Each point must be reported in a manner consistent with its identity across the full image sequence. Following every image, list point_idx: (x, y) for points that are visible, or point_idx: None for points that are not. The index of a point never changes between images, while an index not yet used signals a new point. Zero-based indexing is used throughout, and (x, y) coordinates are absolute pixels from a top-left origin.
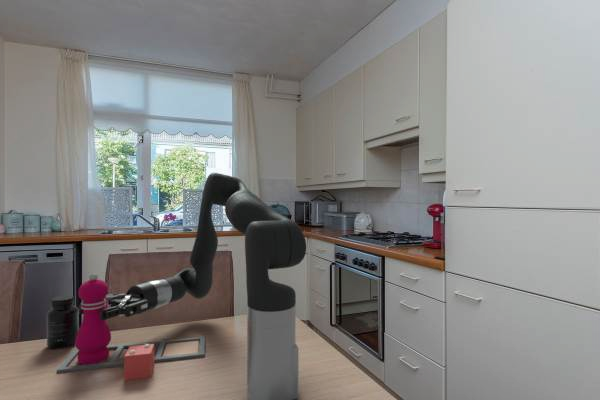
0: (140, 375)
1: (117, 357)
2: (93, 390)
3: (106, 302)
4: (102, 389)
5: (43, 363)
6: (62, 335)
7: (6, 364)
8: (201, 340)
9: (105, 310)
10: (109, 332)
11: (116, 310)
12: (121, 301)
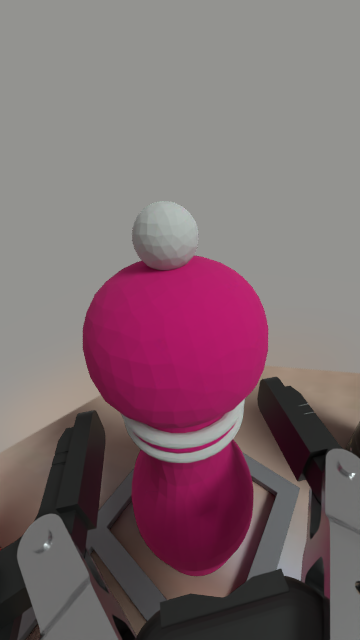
0: None
1: (119, 583)
2: (36, 444)
3: (319, 545)
4: (18, 458)
5: (254, 411)
6: (356, 444)
7: (293, 368)
8: None
9: (75, 427)
10: (152, 536)
11: (46, 497)
12: (84, 587)
